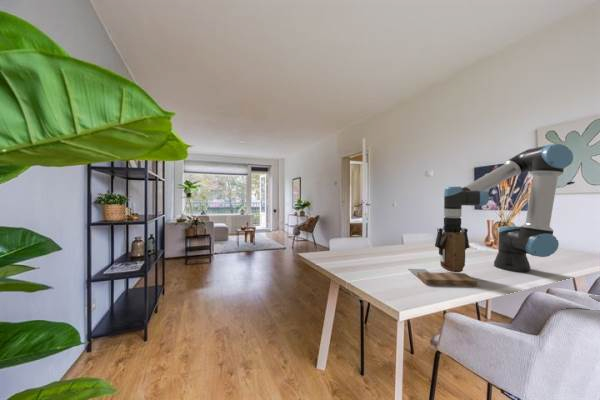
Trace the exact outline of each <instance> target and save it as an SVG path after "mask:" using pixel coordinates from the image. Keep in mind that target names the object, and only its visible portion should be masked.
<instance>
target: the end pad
mask: <svg viewBox="0 0 600 400" xmlns="http://www.w3.org/2000/svg"><path fill="white" fill-rule="evenodd" d="M407 270H408V271H409V270H410V271H411V273H412V274H413V275H414V276H415V277H417V272H429V271H428V270H427V269H425V268H407ZM410 271H409V272H410ZM417 278H418V277H417Z"/></svg>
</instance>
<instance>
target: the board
mask: <svg viewBox="0 0 600 400" xmlns="http://www.w3.org/2000/svg"><path fill="white" fill-rule="evenodd" d="M417 278H418V279H419V280H420V281H421V282H422V283H423V284H424V285H426V286H449V287H450V286H453V287H479V280H477V279H476V278H474V277H471V276H470V275H468V274H466V273H463V272H459V273H457V272H429V271H428V272H417Z"/></svg>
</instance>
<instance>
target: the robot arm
mask: <svg viewBox="0 0 600 400" xmlns="http://www.w3.org/2000/svg"><path fill="white" fill-rule="evenodd" d="M573 161H574V153H573V151H572V150H571V149H570V148H569V147H568V146H567V145H565V144H560V143H555V144H554V143H553V144H547V145H542V146H539V147H533V148H528V149H526V150H524V151H522V152H520V153H518V154H516V155H514V156H513V157H511V158H510V159H508V160H506V161H505V162H504V163H503V165H501V166H500V167H498V168H497V167H496V169H494V170H491V171H490V172H489V173H487V174H485V175H483V176H481V177H479V178H478V179H476V180H474V181H473V182H470V183H469V184H467V185H464V186H463V187H461V186H446V187H445V188H444V193H443V197H444V199H443V201H444V203H443V205H444V206H443V216H444V217H443V227H438V228H436V230H437V234H436V239H435V244H434V246H435V248H438V255H439V256H440V257H439V258H440V260H439V261H442V262H445V249H443V248H444V246H445V244H446V241H447V236H448V235H446V236H445V237H443V239H442V241H441V238H442V233H443V232H444V231H445V232H446V233H447V232H463V233H464V235H465V251H466V250H467V249H470V242H469V237H468V231H469V230H468V228H465V227H461V226H462V218H461V217H462V208H463V207H462V206H472V207H473V206H476V207H478V206H479V207H480V206H486V205H488V203H489V201H490V194H488V192H487V191H489V190H491V189H492V188H494V187H496V186H499V185H500V184H501V183H503V182H505V181H507V180H509V179H510V178H513V177H518V176H520V175H522V174H524V173H529V174H530V175H532V181H531V182H532V183H531V187H530V195H529V200H528V205H527V212H526V218H525V222H524V224H522V225H520V226H513V225H512V226H511V225H510V226H507V225H506V226H505V225H504V226H503V225H502V226H499V228H498V242H497V243H498V247H497V249H498V250H497V251H498V252H497V254H496V257H495V258H494V262H493V266H494V267H496V268H498V269H501V270H505V271H509V272H518V273H520V272H521V273H529V272H531V265H530V262H529V259H528V257H527V254H528V255H530V256H532V257H539V258H547V257H550V256H551V255H554V254H556V252H557V250H558V248H559V243H560V242H559V240H558V239H557V236H555V235H554V229H553V228H552V227H551V221H552V214H553V208H554V202H555V197H556V191H557V185H558V179H559V177H560V176H561V175H563V174H564V169H566V168H567V167H569V166H570V165H571V164H572V163H573Z"/></svg>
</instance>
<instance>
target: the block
mask: <svg viewBox="0 0 600 400" xmlns="http://www.w3.org/2000/svg"><path fill="white" fill-rule="evenodd" d="M446 235H448V236H447V241H446V244H445V246H444V248H443V249H445V262H442V261H440V260H439V261H440V262H439V263H440V267H442V268H443V269H444V270H446V271H449V272H450V273H462V272H463V270H464V268H465V266H466V250H465V235H464V233H463V232H461V231H460V232H447V233H446V232H445V231H444V230H443V232H442V238H441V241H442V239H443V237H445V236H446Z"/></svg>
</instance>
